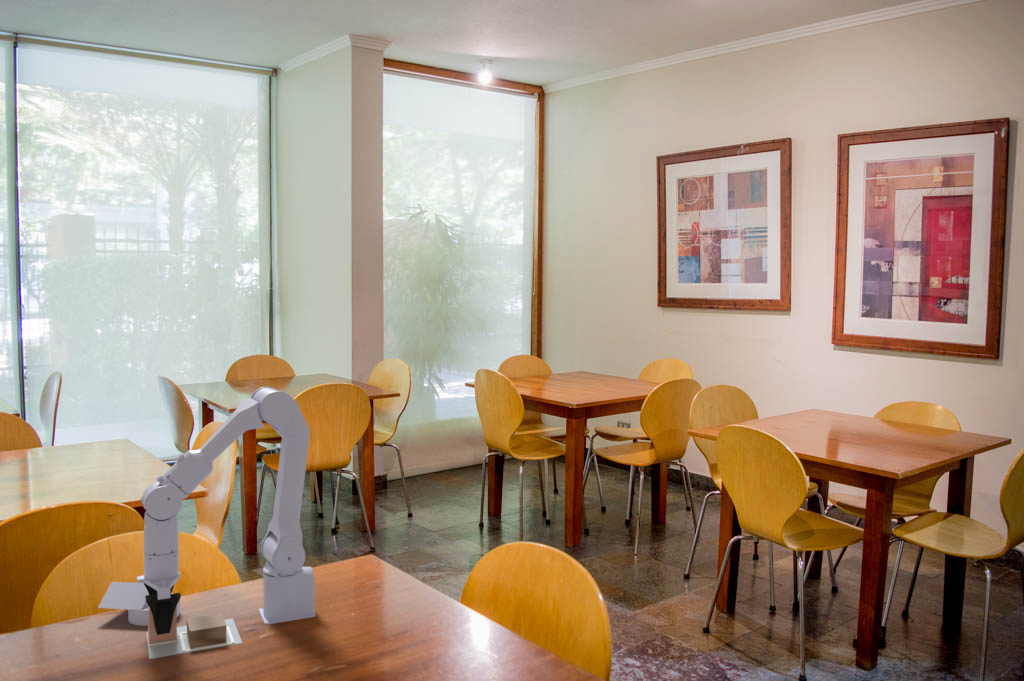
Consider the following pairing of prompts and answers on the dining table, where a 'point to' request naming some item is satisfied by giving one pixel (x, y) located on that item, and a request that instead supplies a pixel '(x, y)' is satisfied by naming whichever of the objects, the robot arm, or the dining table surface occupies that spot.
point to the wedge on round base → (129, 601)
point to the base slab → (206, 630)
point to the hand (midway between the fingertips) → (161, 625)
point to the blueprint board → (182, 642)
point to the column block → (162, 637)
